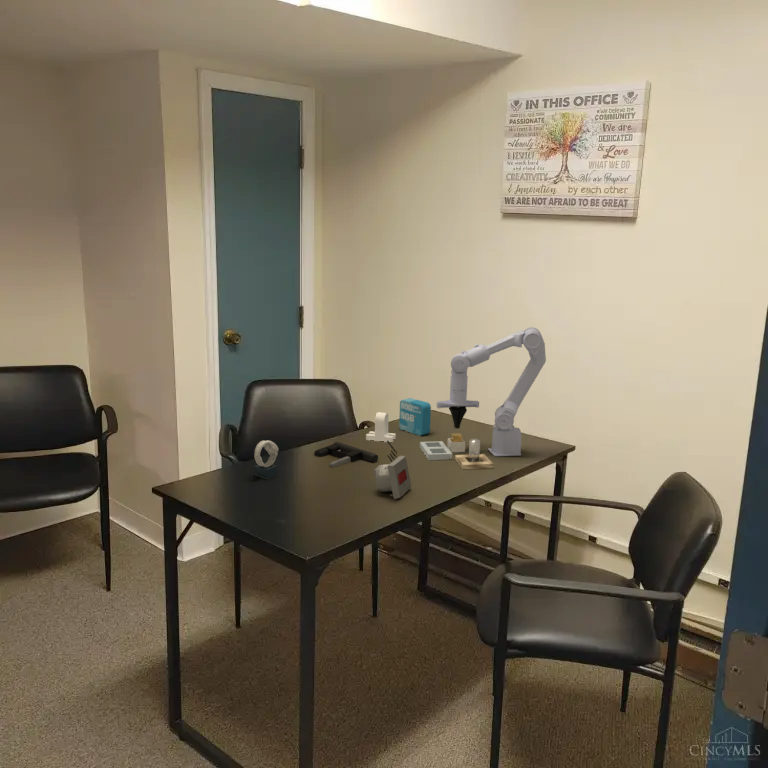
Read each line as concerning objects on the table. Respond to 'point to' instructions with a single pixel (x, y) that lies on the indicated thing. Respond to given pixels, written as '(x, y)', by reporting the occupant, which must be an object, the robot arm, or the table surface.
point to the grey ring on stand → (267, 468)
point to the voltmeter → (393, 476)
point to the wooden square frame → (482, 463)
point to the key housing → (456, 446)
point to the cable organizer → (381, 429)
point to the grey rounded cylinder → (474, 450)
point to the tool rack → (436, 450)
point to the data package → (415, 416)
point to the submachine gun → (345, 454)
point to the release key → (456, 437)
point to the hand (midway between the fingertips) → (456, 427)
